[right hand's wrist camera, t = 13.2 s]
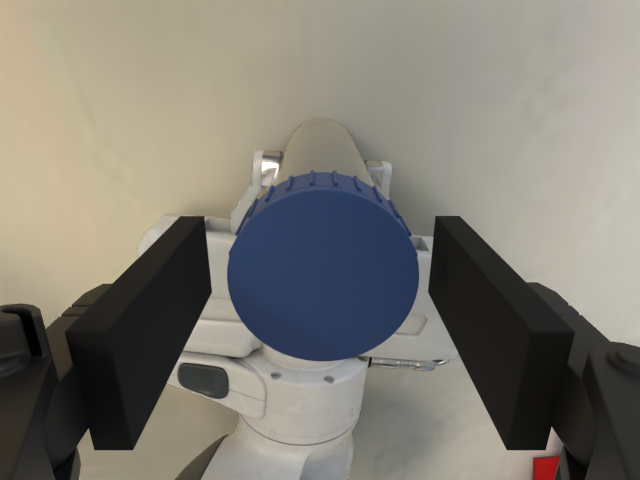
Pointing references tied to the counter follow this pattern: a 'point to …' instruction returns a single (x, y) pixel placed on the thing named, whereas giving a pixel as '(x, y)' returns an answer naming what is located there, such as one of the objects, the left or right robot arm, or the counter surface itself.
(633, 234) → the counter surface
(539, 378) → the right robot arm
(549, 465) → the toy
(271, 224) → the lid
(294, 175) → the grey long cylinder
